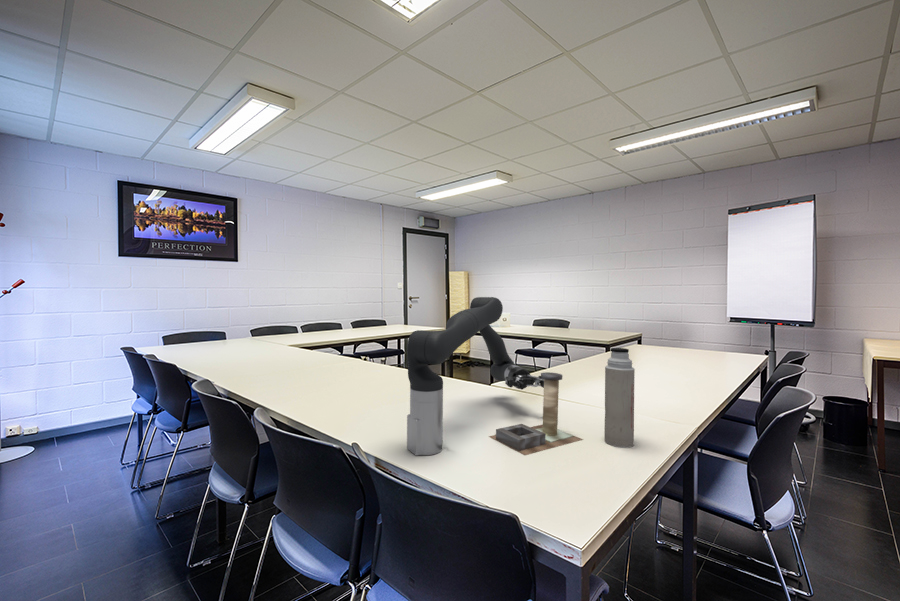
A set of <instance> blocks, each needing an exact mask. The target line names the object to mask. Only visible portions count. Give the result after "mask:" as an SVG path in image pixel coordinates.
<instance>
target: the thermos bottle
mask: <svg viewBox="0 0 900 601" xmlns="http://www.w3.org/2000/svg"><path fill="white" fill-rule="evenodd" d="M629 352H630V349H628V348H622V347H612V348H610V357H609V358H608V359H607V362H606V363H607V365H605V366H604V372H605V373H604V437H603V438H604V442H605V443H606V444H607V445H610V446H613V447H618V448H632V447H633V446H634V442H635V441H634V440H635V439H634V438H635V434H634V433H635V432H634V431H635V374H636V373H635V370H636V369H635V368H634V367H633V360H632V359H630V357H629V356H630V355H629V354H630V353H629Z"/></svg>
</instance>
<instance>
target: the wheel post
mask: <svg viewBox="0 0 900 601" xmlns="http://www.w3.org/2000/svg"><path fill="white" fill-rule="evenodd" d="M540 376H541V378H542V379H544V388H543V400H542V401H543V402H542V403H543V404H542V405H543V406H542V424H543V430H542V432H543V433H545V434H546V435H550V436H554V435H557V429H558V422H559V421H558V420H559V392H560V391H559V388H560V387H559V386H560V381H562V380H563V374H561V373H558V372H541V373H540Z"/></svg>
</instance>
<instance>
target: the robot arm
mask: <svg viewBox="0 0 900 601" xmlns="http://www.w3.org/2000/svg"><path fill="white" fill-rule="evenodd" d="M503 310H504V308H503V303H502V302H501V300H500V299H499V298H497V297H494V296H478V297H473V299H472V300H471V302H470V304H469V308H467V309H463V310H460V311H458V312H456V313H455V314H453V315H452V316H450V317H449V318H448V319H447V322H446V324H445V329H444V330H439V331H438V330H418V329H417V330H414V331H413V332H412V333H410V335H409V337H408V340H407V346H406V347H407V348H406V356H407V358H406V359H407V361H406V362H407V378H408V381H409V390H410V391H409V414H407V415H406V449H407V450H408V451H410V452H411V453H412V454H413V455H415V456H430V455H436V454H439V453H440V452H442V451H443V443H444V441H443V439H444V438H443V433H444V432H443V428H444V426H443V425H444V421H443V420H444V418H443V417H444V380H443V378H442V376H441V375H439V374H437V373H436V372H434V371H433V370H432V369H431V368H430V367H429V365H435V366H436V365H440V364H443V363H444V362H446V361H447V360H448V359H449V357H451V356H452V355H453V354H454V352H455V351H456V350H457V349H458V348H459V347H460V346H462V345H463V344H464V343H465V342H468V341H469V340H470V339H471V338H473V337H474V336H475V335H476V334H477V333H480V335H481V337H482V339H483V341H484V343H485V345H486V349H487V351H488V354H489V357H490V360H491V361H492V362H493V364H492V365H491V366H490V368H489V372H490V375H491V376H492V378H493V379H495V380H496V381H498V382H504V383H505V385H506V386H507V387H508V388H513V387H514V388H516V389H518V390H524V389H526V388H527V387H532V388H537V387H541V388H543V389H544V379H542V378H541V375H538V376H535V375H534V376H533V375H531V373H530V372H529V370H527V369H525V368H523V367H522V366H519V365H516V364H515V362H514V361H513V360H512V358H511V356H509V354H508V351H507V348H506V347H507V346H506V344H505V342H504V339H503V338H502V337H501V335H500V334H499V333H498V332H497V331H496V330H495V329H493V328H492V326H491V324H494V323H495V322H497V321H499V320H500V318H501V316H502V315H503V314H502V313H503Z"/></svg>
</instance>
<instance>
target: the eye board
mask: <svg viewBox="0 0 900 601" xmlns="http://www.w3.org/2000/svg"><path fill="white" fill-rule="evenodd" d="M542 430H543V423H542V424H540V425H539V424H538V425H533V426H528V425H526V424H524V423H519V424H518V423H517V424H515V425H511V426H509V425H508V426H504V427H499V428H496V429H495V434H493V435H488V438H490V439H492V440H494V441H495V442H497V443H500V444H501V445H504V446H505V447H508V448H509V449H512V450H514V451H515V452H517V453H519V454H520V455H523V456H528V455H532V454H537V453H540V452H543V451H547V450H551V449H554V448H558V447H561V446H564V445H565V446H566V445H569V444H572V443H573V444H574V443H576V442H579V441H583V440H584V438H581V437H578V436H576V435H574V434H571V433H569V432H567V431H564V430H562V429H558V428H557V435H554V436H550V435H546V434H545V433H543V432H542Z"/></svg>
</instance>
